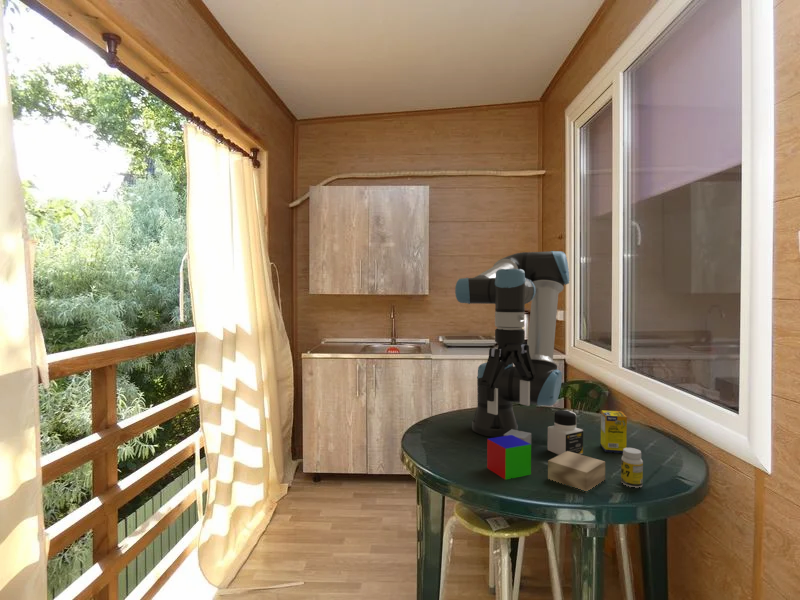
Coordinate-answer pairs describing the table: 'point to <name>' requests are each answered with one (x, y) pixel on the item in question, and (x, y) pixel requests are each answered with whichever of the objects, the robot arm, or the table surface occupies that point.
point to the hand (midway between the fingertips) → (509, 409)
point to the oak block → (576, 470)
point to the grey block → (520, 435)
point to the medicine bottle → (565, 434)
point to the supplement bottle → (632, 468)
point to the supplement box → (613, 431)
